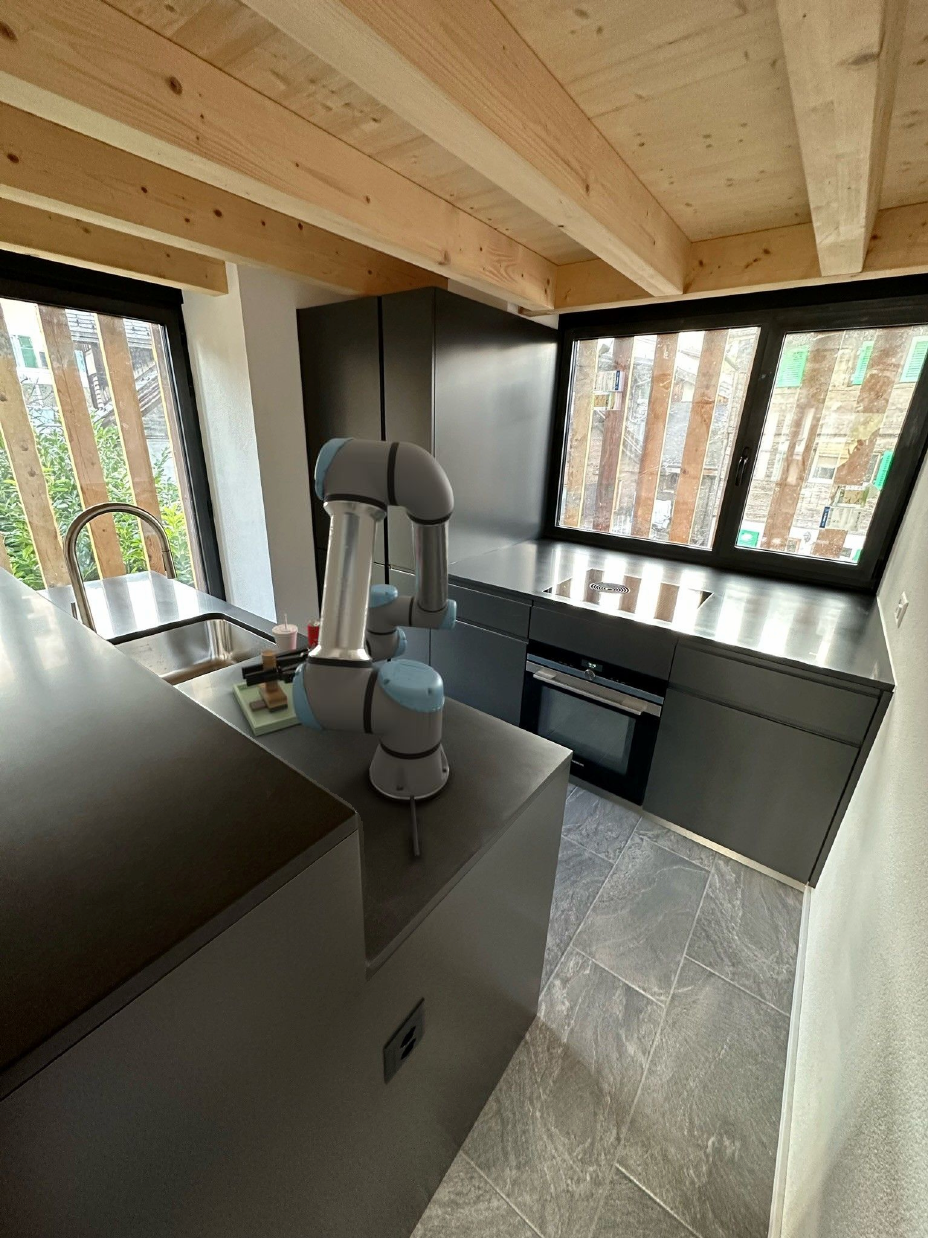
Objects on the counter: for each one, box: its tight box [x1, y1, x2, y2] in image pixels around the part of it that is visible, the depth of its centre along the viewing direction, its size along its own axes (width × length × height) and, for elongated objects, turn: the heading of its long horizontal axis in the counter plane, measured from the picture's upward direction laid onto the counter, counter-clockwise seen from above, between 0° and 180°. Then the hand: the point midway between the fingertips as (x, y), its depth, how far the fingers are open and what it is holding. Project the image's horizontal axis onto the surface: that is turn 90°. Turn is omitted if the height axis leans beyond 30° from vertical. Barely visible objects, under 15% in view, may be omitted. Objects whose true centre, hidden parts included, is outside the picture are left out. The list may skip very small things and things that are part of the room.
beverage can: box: [306, 618, 321, 649], centre depth 136 cm, size 5×5×12 cm
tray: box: [232, 678, 301, 737], centre depth 120 cm, size 20×17×2 cm
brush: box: [258, 649, 288, 713], centre depth 116 cm, size 9×4×12 cm, turn 35°
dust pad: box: [249, 699, 266, 712], centre depth 117 cm, size 3×3×1 cm
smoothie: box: [271, 613, 299, 654], centre depth 135 cm, size 6×6×14 cm
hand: (244, 677), depth 113 cm, fingers closed on brush, 3 cm apart
